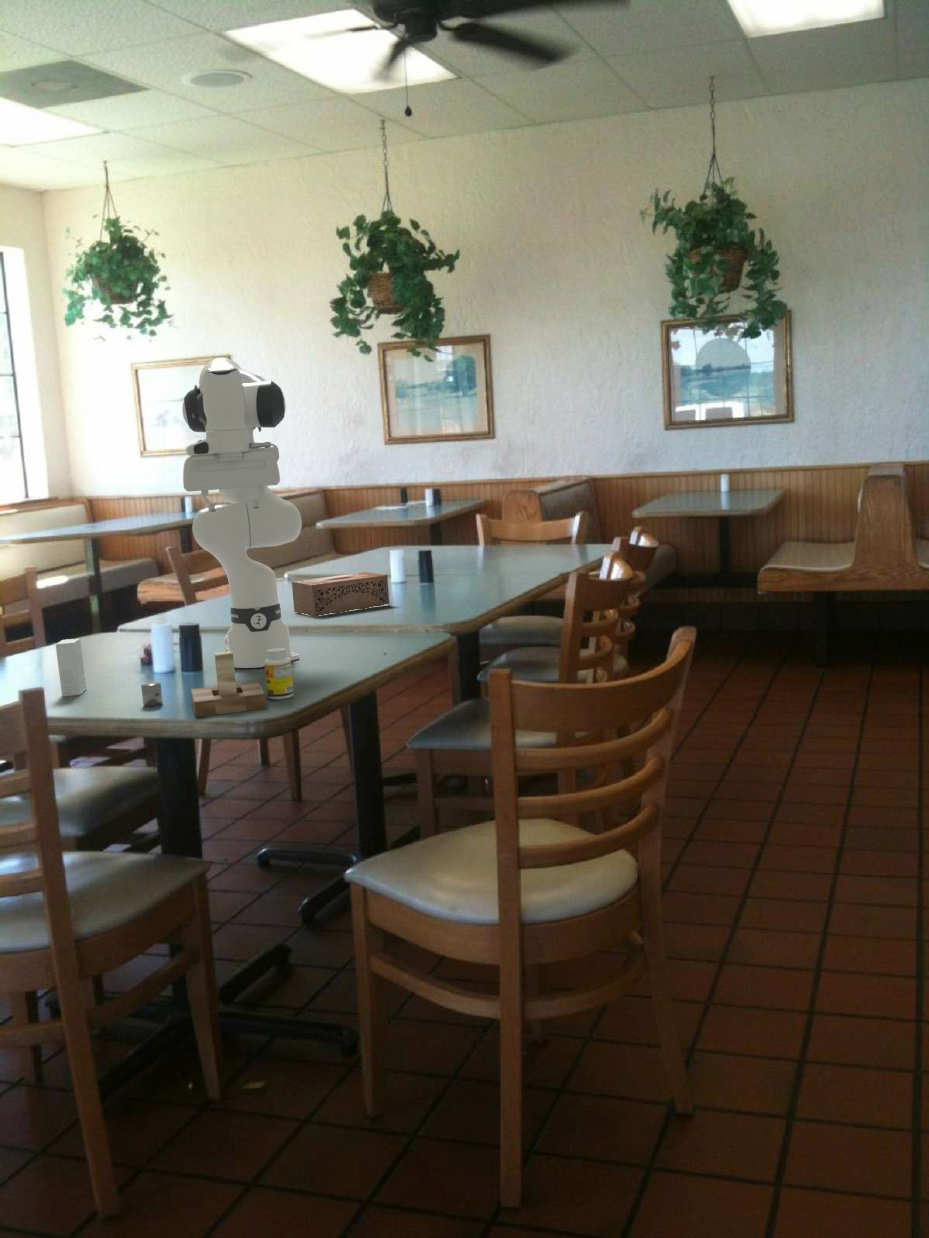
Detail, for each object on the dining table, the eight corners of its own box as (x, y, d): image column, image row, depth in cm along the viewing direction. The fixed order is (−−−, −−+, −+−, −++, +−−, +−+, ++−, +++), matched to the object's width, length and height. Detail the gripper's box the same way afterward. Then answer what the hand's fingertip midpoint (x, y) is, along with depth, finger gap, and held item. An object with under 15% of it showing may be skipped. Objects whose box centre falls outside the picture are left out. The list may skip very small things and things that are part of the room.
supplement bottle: (266, 696, 266) (262, 648, 264) (293, 693, 267) (289, 645, 265) (268, 701, 260) (263, 652, 259) (295, 698, 261) (290, 650, 260)
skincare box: (67, 691, 286) (61, 639, 284) (86, 689, 286) (80, 638, 285) (61, 696, 280) (54, 644, 278) (80, 695, 280) (74, 642, 279)
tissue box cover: (368, 602, 402) (365, 572, 401) (389, 606, 390) (387, 574, 389) (294, 613, 389) (291, 581, 388) (314, 618, 377) (311, 585, 376)
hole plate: (192, 703, 263) (191, 689, 263) (259, 695, 267) (258, 681, 266) (195, 716, 250) (194, 702, 249) (266, 708, 253) (265, 693, 253)
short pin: (143, 704, 266) (141, 683, 265) (162, 702, 267) (160, 681, 266) (143, 708, 262) (141, 687, 261) (163, 705, 263) (160, 684, 262)
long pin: (219, 705, 260) (214, 652, 258) (236, 703, 260) (231, 651, 259) (220, 708, 256) (215, 655, 255) (238, 706, 257) (232, 653, 255)
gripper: (276, 441, 271) (281, 505, 273) (179, 447, 266) (185, 513, 268) (279, 441, 265) (285, 506, 267) (180, 447, 260) (187, 514, 262)
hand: (234, 510), depth 267 cm, fingers open, 8 cm apart
